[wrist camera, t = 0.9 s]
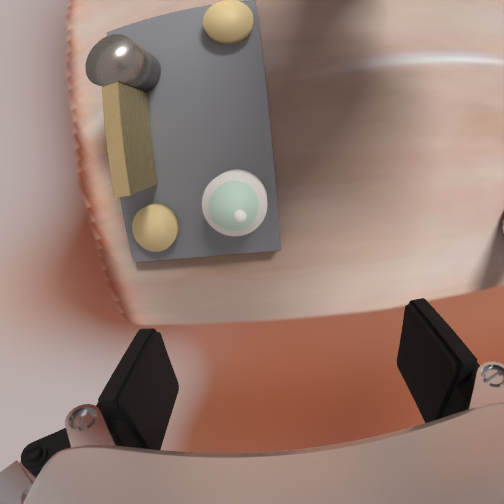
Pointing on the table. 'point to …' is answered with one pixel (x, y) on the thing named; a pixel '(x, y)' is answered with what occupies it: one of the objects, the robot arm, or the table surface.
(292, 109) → the table surface
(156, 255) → the base
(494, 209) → the table surface
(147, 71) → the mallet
